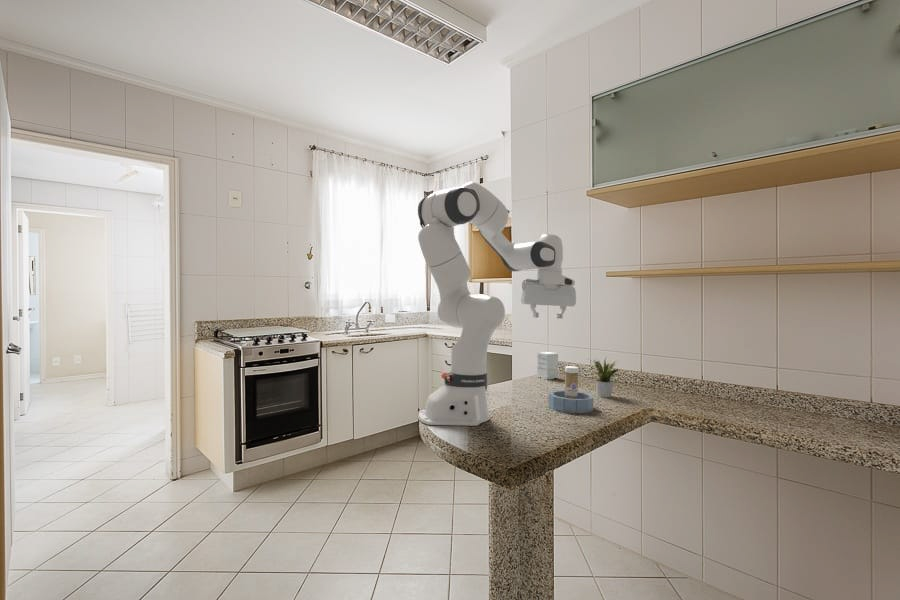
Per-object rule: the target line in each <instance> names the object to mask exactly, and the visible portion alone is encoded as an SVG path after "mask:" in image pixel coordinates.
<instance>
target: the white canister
mask: <svg viewBox="0 0 900 600" xmlns="http://www.w3.org/2000/svg"><path fill="white" fill-rule="evenodd" d="M536 367H537V368H536V369H537V370H536V371H537V373H536V375H537V376H538V377H541V378H540V379H542V378H544V379H543V380H546V379H548V380H555V379H554V378H558V373H559V353H557V352H553V351H551V352H550V351H540V352H537V366H536ZM537 376H536V377H537ZM538 377H537V378H538ZM558 379H559V378H558Z"/></svg>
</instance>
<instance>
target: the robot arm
mask: <svg viewBox="0 0 900 600" xmlns="http://www.w3.org/2000/svg"><path fill="white" fill-rule="evenodd" d="M417 215H418V218H419V225H420V227H421V230H420V231H419V232H418V237H417V239H418V242H419V243H418V244H419V247H420V249H421V253H422V255H423V258H424V260H425V263H426V265H427V267H428V269H429V271H430V273H431V275H432V277H433V279H434V281H435V283H436V285H437V289H438V293H439V298H440V299H439V304H438V306H437V315H438V318H439V320H440V321H441V322H442V323H443V324H445V325H447V326H450V327H453V328H456V329H457V328H458V329H462V330H461V335H460V337H459V339H458V340H457V342H455V343H454V344H453V346H452V347H451V356H450V357H451V364H450V372H448V373H447V372H446V371H443V372H441V374H440V376H441V378H442V379H444V384H442V385H441V386H440V387H439V388H438V389H436V390H435V391H434V392H432V393H430V395H428V398H427V399H426V403H425V409H422V410H420V411H419V412H418V414H417V415H418V416H417V417H418V419H419V421H420V422H422V423H423V424H425V425H429V426H434V425H435V426H472V427H473V426H475V427H476V426H479V425H481V423H482V424H483V423H485V422H487V421H489V420H490V419H491V416H490V413H489V408H488V401H487V400H488V399H487V390H488V389H487V388H488V373H487V353H488V348H489V344H490V341H491V339H492V336H493V334H494V332H495V331H496V329H498V328H499V327H500V326H501V325H502V324H503V322H504V319H505V315H506V314H505V313H506V311H505V310H506V309H505V306H504V303H503V301H502V300H501V299H500V298H498V297H496V296H492V295H489V294H485V293H484V294H483V293H480V294H479V293H477V294H476V293H471V292H470V290H469V288H468V281H469V280H470V278H471V269H470V267H469V264H468V263H467V261H466V258H465V255H464V254H463V252H462V249H461V247H460V245H459V244H458V242H457V239H456V237H455V236H456V235H455V229H454V228H455V226H460V225H465V224H467V223H469V222H471V223H472V224H473V225H474V226H475V227H476V228H477V229H478V232H479V234H480V236H481V238H483V240H484V241H485V242H486V243H487V244H488V246H489V247H490V248H492V250H493V251H494V252H495V253H496V254H497V255H498V257H500V259H501V261H502V263H503V264H504V266H505V268H506V269H507V270H509V271H511V272H518V271H522V270H523V271H524V270H525V271H526V270H536V269H537V270H536V271H537V274H536V278H532V279H531V278H526V279H524V280H523V281H522V283H521V288H522V291H521V295H520V296H521V297H520V302H521V304H522V305H529V306H530V307H529V308H530V310H531V312H532V318H539V317H540V316H539V315H540V313H539V312H537V311H536V308H537V306H538V305H539V306H553V307H555V306H556V307H558V306H559V309H560V311H559V313H557V314H556V318H557V319H561V320H562V319H564V318H563V317H564V314H565V312H566V310H567V307H575V305H576V302H577V291H576V288H575V287H574V286H575V284H576V282H575V281H576V280H575V279H572V278H569V277H568V276H565V275H563V270H562V263H563V261H564V258H563V257H564V252H563V251H564V249H563V247H564V246H563V240H562V239H561V237H560V236H558V235H555V234H549V233H548V234H547V233H546V234H542V235H541V236H540V238H537V239H536V240H532V241H527V242H521V243H515V242H511V241H510V240H509V239H508V238H507V237H506V236H505V235H504V234H503V230H504V229H505V228H506V225H507V224H508V221H509V211H508V208H507V206H505V203H503V202H502V201H501V200H500V199H499V198H498V197H497V196H495V194H493V193H492V192H491V191H490V190H488V189H487V188H486V187H484V186H482V185H481V184H479V183H477V182H475V181H469V182H466V183H464V184H462V186H455V187H452V188H446V189H439V190H437V191H435V192H433V193H429V194H427V195H425V196H424V197H423V198H422V199H421V200H420V201H419V203H418V206H417ZM424 413H425V414H424ZM423 414H424V415H423ZM422 416H423V417H422Z"/></svg>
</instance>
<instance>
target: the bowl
mask: <svg viewBox="0 0 900 600" xmlns="http://www.w3.org/2000/svg"><path fill="white" fill-rule="evenodd" d="M548 408H550V409H552V410H554V411H558V412H563V413H568V414H569V413H570V414H588V413H589V414H590V413H591V412H593V411H594V394H593V395H592V394H590V393H587V392H583V391H578V396H577V399H570V398H565V389H564V390H552V391H549V393H548Z"/></svg>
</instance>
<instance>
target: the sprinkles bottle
mask: <svg viewBox="0 0 900 600" xmlns="http://www.w3.org/2000/svg"><path fill="white" fill-rule="evenodd" d="M564 373H565V380H564V390H565V398H570V399H577V396H578V392H579V391H578V390H579V367H578V366H573V365H570V366H569V365H567V366H565V368H564Z"/></svg>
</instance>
